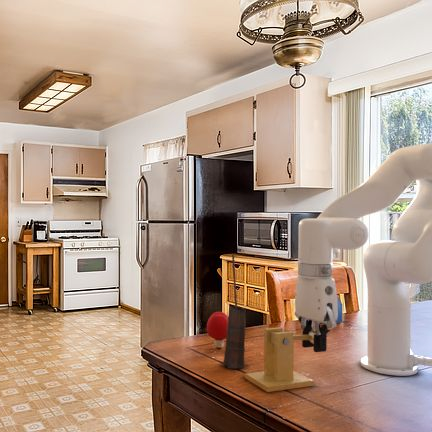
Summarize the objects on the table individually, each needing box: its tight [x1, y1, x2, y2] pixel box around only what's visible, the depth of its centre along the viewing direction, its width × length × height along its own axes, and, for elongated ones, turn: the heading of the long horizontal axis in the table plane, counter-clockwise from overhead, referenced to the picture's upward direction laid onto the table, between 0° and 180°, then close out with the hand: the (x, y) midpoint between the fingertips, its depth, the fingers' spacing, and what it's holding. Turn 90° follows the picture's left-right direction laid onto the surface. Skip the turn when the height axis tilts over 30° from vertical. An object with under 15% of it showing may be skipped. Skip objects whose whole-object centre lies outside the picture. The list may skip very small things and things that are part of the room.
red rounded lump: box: [206, 311, 228, 350], centre depth 134 cm, size 9×7×10 cm
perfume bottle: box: [336, 296, 343, 323], centre depth 170 cm, size 6×6×12 cm
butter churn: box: [223, 254, 247, 370], centre depth 118 cm, size 9×10×28 cm
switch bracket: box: [244, 326, 314, 393], centre depth 107 cm, size 12×9×12 cm
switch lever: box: [271, 329, 316, 344], centre depth 109 cm, size 13×3×3 cm, turn 109°
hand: (314, 348), depth 111 cm, fingers closed on switch lever, 3 cm apart
